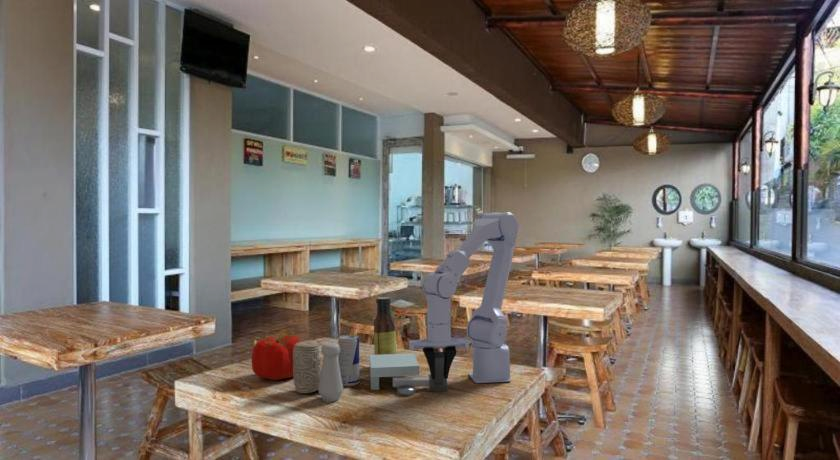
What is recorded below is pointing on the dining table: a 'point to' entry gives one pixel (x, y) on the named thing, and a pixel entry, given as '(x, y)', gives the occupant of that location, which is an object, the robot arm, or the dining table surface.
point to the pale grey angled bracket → (391, 367)
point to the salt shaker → (330, 374)
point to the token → (406, 390)
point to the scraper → (433, 384)
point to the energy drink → (349, 359)
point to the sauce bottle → (384, 328)
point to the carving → (306, 366)
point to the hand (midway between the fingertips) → (439, 377)
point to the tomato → (274, 357)
